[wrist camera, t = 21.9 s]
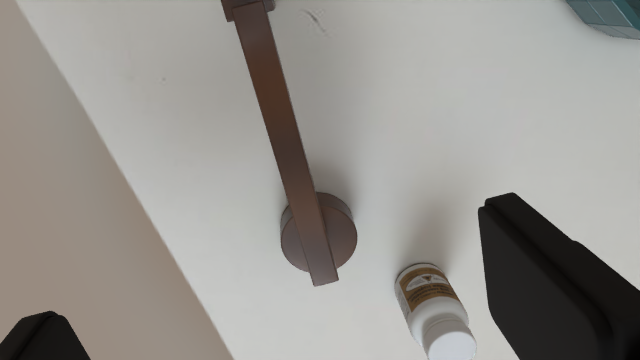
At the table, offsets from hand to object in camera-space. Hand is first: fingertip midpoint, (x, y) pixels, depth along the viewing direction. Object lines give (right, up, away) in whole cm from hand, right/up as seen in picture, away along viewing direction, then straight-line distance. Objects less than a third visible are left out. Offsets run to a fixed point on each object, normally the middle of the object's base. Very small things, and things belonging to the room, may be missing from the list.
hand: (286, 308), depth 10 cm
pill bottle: (+9, -6, +28) cm, 30 cm away
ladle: (-1, +6, +22) cm, 23 cm away
